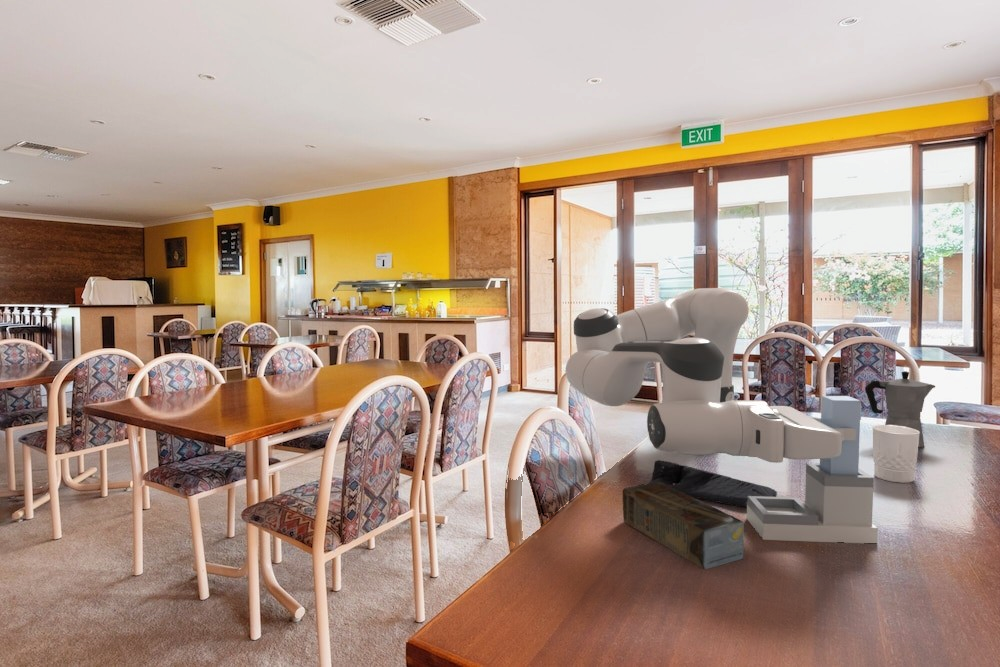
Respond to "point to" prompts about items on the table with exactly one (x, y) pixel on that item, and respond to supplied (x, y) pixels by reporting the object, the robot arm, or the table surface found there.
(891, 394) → the coffeepot
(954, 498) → the table surface
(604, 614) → the table surface
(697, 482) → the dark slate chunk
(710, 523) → the beverage carton
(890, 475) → the white cup
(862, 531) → the stepped base with tray
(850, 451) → the plug
